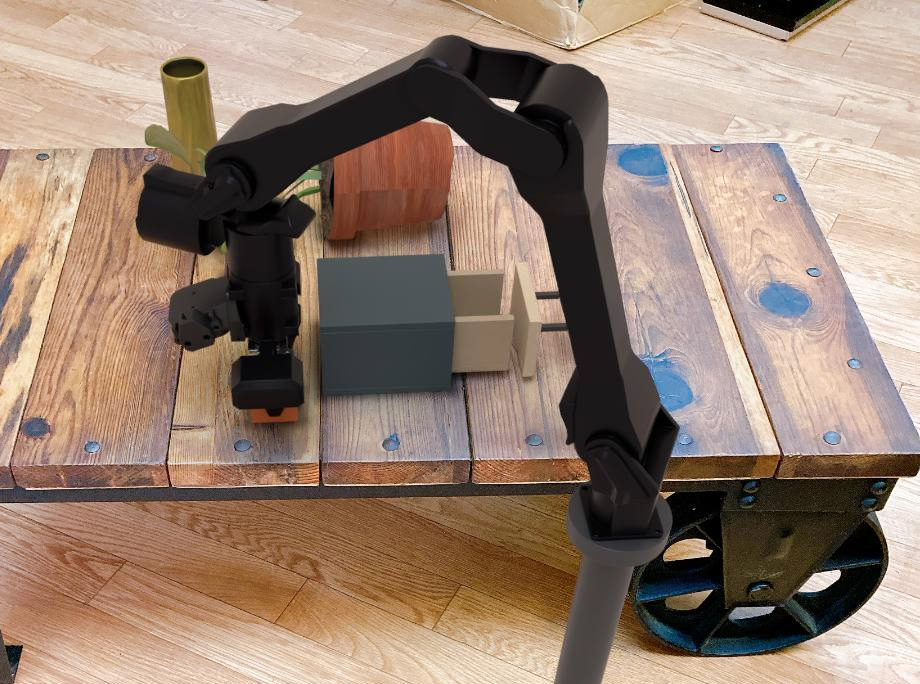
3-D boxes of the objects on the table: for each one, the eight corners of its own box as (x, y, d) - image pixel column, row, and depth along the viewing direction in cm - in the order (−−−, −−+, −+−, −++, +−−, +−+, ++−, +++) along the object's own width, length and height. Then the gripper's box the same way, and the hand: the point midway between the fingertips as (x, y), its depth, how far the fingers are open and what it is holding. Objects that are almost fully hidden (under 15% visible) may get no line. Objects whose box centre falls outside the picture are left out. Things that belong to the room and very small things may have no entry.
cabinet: (440, 322, 116) (444, 253, 109) (450, 390, 109) (455, 321, 102) (320, 327, 115) (316, 258, 109) (323, 396, 108) (319, 326, 102)
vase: (165, 178, 134) (146, 62, 123) (211, 163, 136) (196, 49, 125) (187, 202, 130) (170, 86, 119) (233, 187, 132) (221, 71, 121)
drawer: (563, 314, 115) (572, 260, 110) (579, 374, 109) (589, 319, 104) (410, 320, 115) (412, 265, 109) (418, 381, 109) (420, 326, 103)
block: (298, 421, 106) (295, 386, 103) (252, 423, 106) (248, 388, 103) (297, 390, 109) (294, 355, 106) (252, 392, 109) (248, 357, 105)
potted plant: (424, 196, 134) (129, 196, 129) (441, 78, 122) (117, 73, 117) (445, 280, 125) (128, 284, 119) (466, 161, 113) (115, 159, 107)
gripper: (173, 205, 101) (194, 339, 112) (160, 336, 88) (185, 472, 100) (295, 200, 101) (304, 335, 113) (299, 331, 89) (308, 466, 101)
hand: (274, 398), depth 107 cm, fingers closed on block, 4 cm apart
